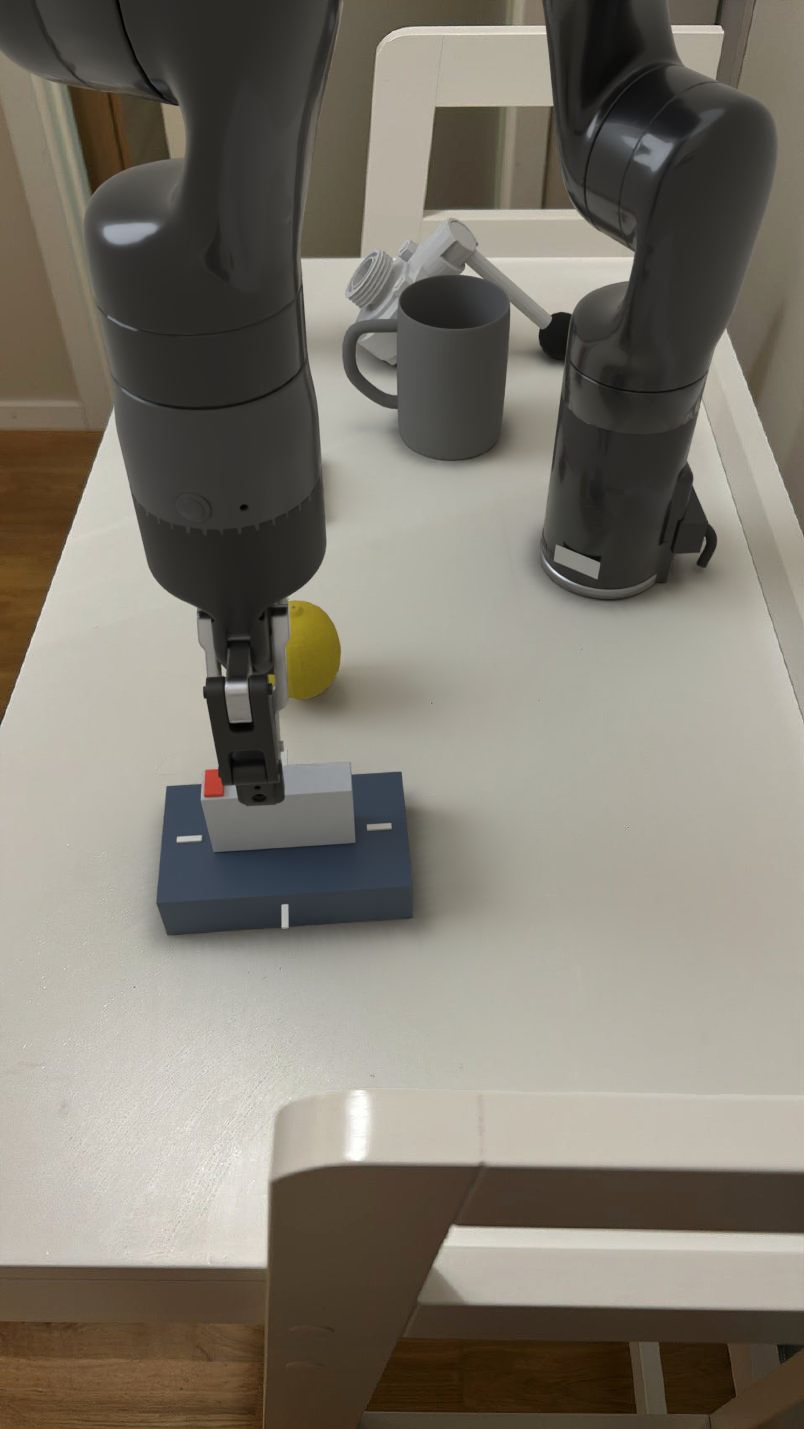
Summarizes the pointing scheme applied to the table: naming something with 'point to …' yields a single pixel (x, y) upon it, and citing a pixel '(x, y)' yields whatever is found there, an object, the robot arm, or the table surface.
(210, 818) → the white slab
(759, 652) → the table surface
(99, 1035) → the table surface
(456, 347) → the mug
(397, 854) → the blue dial base
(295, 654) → the lemon
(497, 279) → the valve
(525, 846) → the table surface
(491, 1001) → the table surface
